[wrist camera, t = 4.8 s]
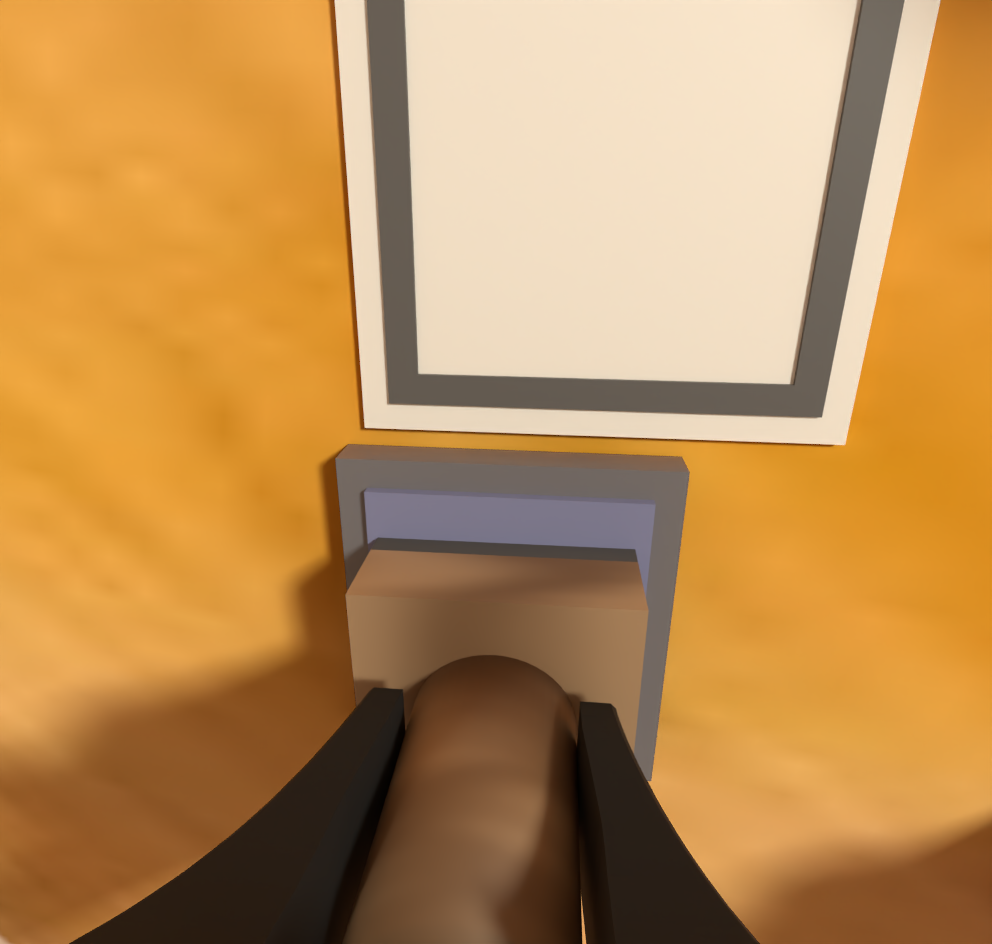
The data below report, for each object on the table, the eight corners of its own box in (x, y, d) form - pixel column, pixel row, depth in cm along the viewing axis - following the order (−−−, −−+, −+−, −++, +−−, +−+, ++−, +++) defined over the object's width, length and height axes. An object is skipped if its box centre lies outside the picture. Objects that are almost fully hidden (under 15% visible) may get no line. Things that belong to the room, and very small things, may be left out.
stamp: (635, 549, 15) (707, 878, 8) (616, 751, 17) (658, 1159, 10) (377, 537, 16) (209, 835, 8) (391, 735, 18) (269, 1112, 10)
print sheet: (975, -189, 11) (985, -199, 11) (841, 442, 15) (846, 446, 15) (326, -162, 12) (321, -171, 11) (367, 425, 16) (363, 429, 16)
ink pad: (681, 456, 15) (691, 476, 14) (646, 753, 19) (652, 788, 18) (348, 444, 16) (332, 462, 15) (371, 732, 19) (359, 765, 18)
